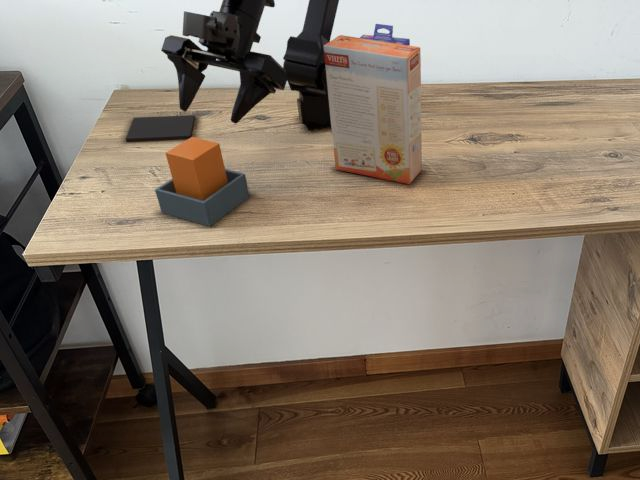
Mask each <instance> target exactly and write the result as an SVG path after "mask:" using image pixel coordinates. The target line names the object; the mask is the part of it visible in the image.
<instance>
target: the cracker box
mask: <svg viewBox="0 0 640 480" xmlns="http://www.w3.org/2000/svg"><path fill="white" fill-rule="evenodd" d="M324 55H325V66H326V77H327V87H328V98H329V108H330V118H331V128H330V129H331V137H332V147H333V157H334V166H335V170H337V171H342V172H346V173H347V172H348V173H352V174H356V175H362V176H367V177H372V178H377V179H381V180H386V181H392V182H397V183H402V184H405V185H406V184H408V185H410V184H411V183H412V182H413V181H414V180H415V179H416V177H418V175H419V174H420V173H421V171H422V170H423V168H422V166H423V164H422V162H423V161H422V160H423V159H422V156H423V155H422V153H423V152H422V72H421V71H422V69H421V67H422V66H421V62H422V60H421V47H420V46H414V45H410V46H409V45H402V44H396V43H389V42H382V41H376V40H369V39H363V38H360V37H356V36H349V35H343V34H340V35H337V36H336V37H335V38H333V39H332V40H330V42H328V43H327V44H325V45H324Z"/></svg>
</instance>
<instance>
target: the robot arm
mask: <svg viewBox="0 0 640 480" xmlns="http://www.w3.org/2000/svg"><path fill="white" fill-rule="evenodd" d="M339 2H340V0H308V4H307V8H306V13H305V18H304V21H303V27H302V30H301V32H300V33H298V35H297V36H293V35H292V36H289V38H288V39H287V41H286V49H285V52H284V56H283V57H282V60H283V64H282V65H281V64H280V63H279V62H278V61H277V60H276V59H275V58H274V57H273V56H272V55H270V54H266V53H261V52H256V51H252V48H253V44H254V43H256V44H260V41H261V38H262V36H261V35H260V34H259V33H258V29H259V26H260V23H261V19H262V16H263V13H264V10H265V7H269V8H275V7H276V3H275V0H222V2H221V4H220V8H219V10H218V11H217V10H212V11H211V12H210V14H209V15H206V14H200V13H195V12H191V11H183V19H182V36H184V37H182V36H177V35H172V34H170V35H168V36H166V37H164V40H163V43H162V46H161V49H160V50H161V52H162V53H163V54H165V55H166V57H167V59H168V60H169V61H170V62H171V63H172V64H173V65H174V68H175V70H176V75H177V83H178V101H179V102H178V104H179V105H178V106H179V109H180V110H181V111H183V112H187V111H188V109H189V108H190V107H191V105H192V104H193V101H194V99H195V98H196V95H197V94H198V92H199V90H200V88H201V86H202V84H203V83H204V80H205V78H206V75H205V74H204V73H203V72H204V71H205V70H207V69H208V66H212V67H216V68H221V69H226V70H231V71H235V72H239V83H240V84H239V88H238V92H237V94H236V97H235V101H234V104H233V107H232V110H231V115H230V122H231V123H233V124H235V125H236V124H238V123H239V122H240V121H241V120H242V119H243V118H244V117H245V116H246V115H247V114H249V112H250V111H252V110H253V109H254V108H255V107H256V106H257V105H258V104H259V103H260V102H261V101H263V100H264V99H265V98H267V97H268V96H269V95H270V94H276V91H277V90H281V91H284V90H285V88H286V85H287V84H288V87H289V89H290V91H293V92H298V97H297V98H296V105H297V113H298V119H299V121H300V123H301V124H302V125H303V126H304V127H305V129H306V130H307V131H308V132H314V131H318V130H325V129H332V128H331V118H330V108H329V98H328V87H327V77H326V66H325V55H324V45H325V44H327V43H328V42H330V41H331V38H332V33H333V29H334V26H335V25H334V24H335V20H336V16H337V12H338V11H337V10H338V7H339ZM186 37H187V38H186ZM188 37H193V38H196V39H198V41H197V42H198V43H199V44H200V45H201V46H202V47H205V48H206V49H207V50H204V49H202V48H201V47H200V46H199V45H197V44H196V43H195V42H194V41H192V40H191V39H190V38H188Z"/></svg>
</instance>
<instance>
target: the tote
mask: <svg viewBox="0 0 640 480" xmlns="http://www.w3.org/2000/svg"><path fill="white" fill-rule="evenodd" d="M225 172H226V176H227V181H228V184H227V185H225V186H224V187H223V188H221V189H220V190H218V191H217V192H216V193H214V194H213V195H211V196H210V197H209V198H207V199H206V200H204V201H201V200H198V199H194V198H191V197H187V196H183V195H180V194H177V193H176V190H175V186H174V182H173V179H172V178H170V179H169V180H167V181H166V182H165V183H163V184H161V185H159V186H158V187H157V188H155V189H154V191H155V195H156V198H157V201H158V205H159V209H160V211H161V214H165V215H168V216H172V217H175V218H178V219H183V220H186V221H189V222H193V223H196V224H200V225H203V226H206V227H211V226H212V225H214V224H215V223H216V222H218V221H219V220H220V219H222V218H223V217H225V216H226V215H227V214H228V213H230V212H232V210H234V209H235V208H237V206H239V205H240V204H241V203H243V202H244V201H246V200H247V199H248V198H250V192H249V187H248V181H247V175H246V173H243V172H240V171H236V170H231V169H227V168H225Z"/></svg>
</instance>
